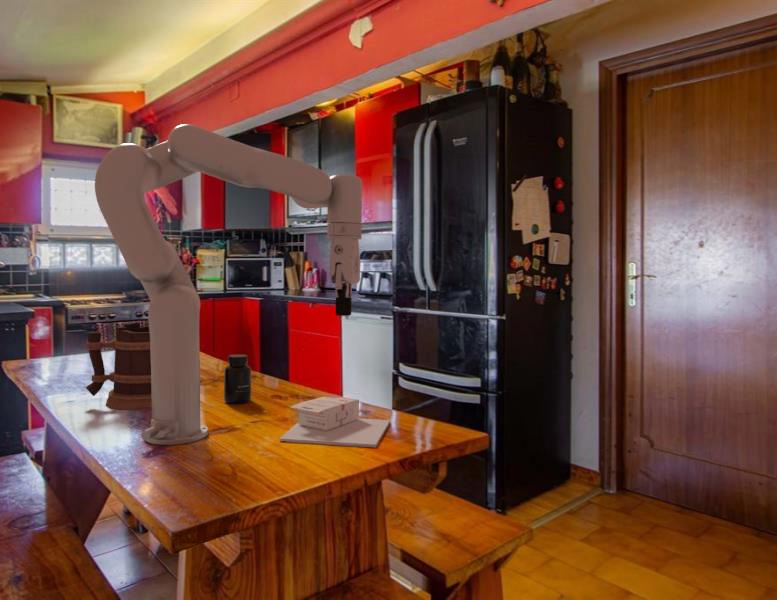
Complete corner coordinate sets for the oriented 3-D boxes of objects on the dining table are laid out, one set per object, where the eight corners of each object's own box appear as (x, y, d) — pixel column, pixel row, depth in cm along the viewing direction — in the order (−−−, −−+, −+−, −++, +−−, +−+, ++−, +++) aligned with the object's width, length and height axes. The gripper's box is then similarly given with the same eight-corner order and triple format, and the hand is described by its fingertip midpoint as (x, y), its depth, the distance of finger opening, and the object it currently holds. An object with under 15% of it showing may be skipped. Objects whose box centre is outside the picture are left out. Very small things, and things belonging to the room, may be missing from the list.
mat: (375, 447, 116) (375, 444, 116) (279, 441, 120) (279, 438, 120) (389, 422, 134) (389, 420, 134) (305, 418, 137) (305, 415, 137)
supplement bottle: (244, 405, 149) (244, 358, 148) (219, 403, 150) (219, 357, 149) (255, 399, 155) (255, 354, 154) (231, 397, 157) (231, 353, 156)
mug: (82, 399, 152) (80, 323, 151) (173, 390, 165) (172, 319, 163) (91, 416, 137) (89, 331, 135) (190, 404, 149) (190, 326, 148)
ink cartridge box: (330, 414, 139) (287, 427, 127) (330, 394, 139) (287, 405, 126) (359, 420, 134) (318, 434, 122) (360, 399, 134) (318, 410, 122)
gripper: (353, 230, 121) (352, 319, 122) (367, 234, 136) (366, 313, 137) (318, 230, 122) (317, 318, 123) (336, 233, 137) (335, 312, 138)
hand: (343, 315), depth 130 cm, fingers closed
